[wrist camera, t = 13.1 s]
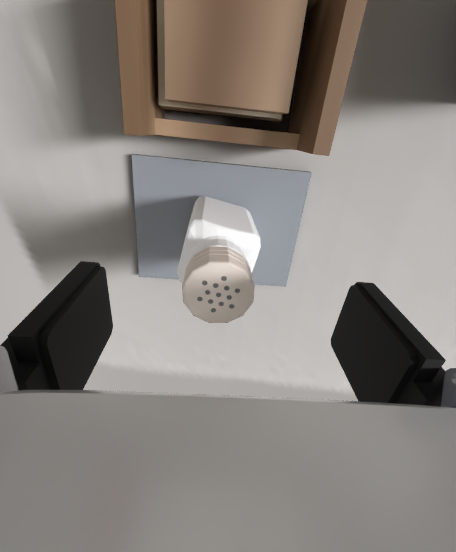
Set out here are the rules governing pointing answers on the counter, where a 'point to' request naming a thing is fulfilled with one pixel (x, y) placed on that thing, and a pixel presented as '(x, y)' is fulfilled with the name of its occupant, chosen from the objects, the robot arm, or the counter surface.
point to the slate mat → (222, 186)
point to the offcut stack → (229, 56)
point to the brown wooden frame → (301, 133)
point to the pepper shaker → (218, 261)
